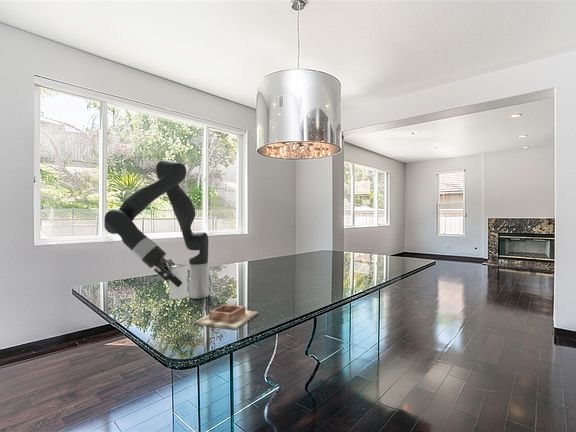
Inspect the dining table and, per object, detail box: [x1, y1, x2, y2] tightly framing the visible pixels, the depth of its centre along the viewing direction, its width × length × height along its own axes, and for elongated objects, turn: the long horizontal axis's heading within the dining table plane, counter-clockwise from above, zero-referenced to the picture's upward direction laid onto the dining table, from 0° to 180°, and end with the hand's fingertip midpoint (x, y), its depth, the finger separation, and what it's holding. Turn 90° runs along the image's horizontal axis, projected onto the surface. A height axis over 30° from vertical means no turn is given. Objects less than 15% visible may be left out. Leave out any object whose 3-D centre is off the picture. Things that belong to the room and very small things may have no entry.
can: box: [168, 263, 188, 301], centre depth 114 cm, size 6×6×12 cm
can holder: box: [194, 303, 259, 330], centre depth 123 cm, size 18×18×4 cm
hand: (182, 282), depth 114 cm, fingers closed on can, 6 cm apart
